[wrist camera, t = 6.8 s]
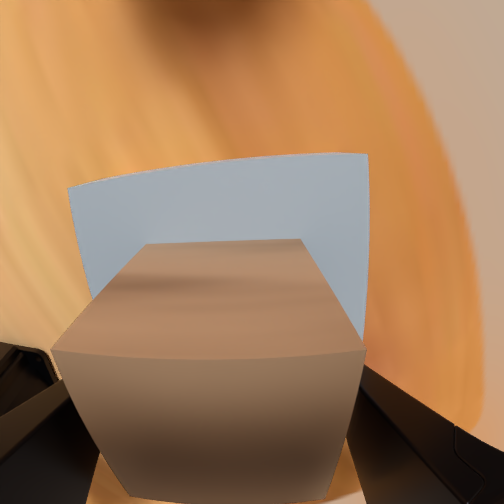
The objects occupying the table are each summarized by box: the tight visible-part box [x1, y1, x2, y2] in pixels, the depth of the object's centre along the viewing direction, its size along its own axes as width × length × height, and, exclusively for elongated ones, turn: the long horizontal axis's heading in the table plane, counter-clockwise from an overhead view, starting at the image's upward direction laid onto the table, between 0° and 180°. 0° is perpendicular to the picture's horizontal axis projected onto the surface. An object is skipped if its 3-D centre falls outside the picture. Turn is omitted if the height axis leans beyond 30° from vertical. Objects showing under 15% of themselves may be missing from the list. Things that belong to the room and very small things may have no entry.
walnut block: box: [50, 239, 367, 504], centre depth 8 cm, size 5×5×6 cm
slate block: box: [68, 152, 369, 342], centre depth 13 cm, size 10×10×4 cm
